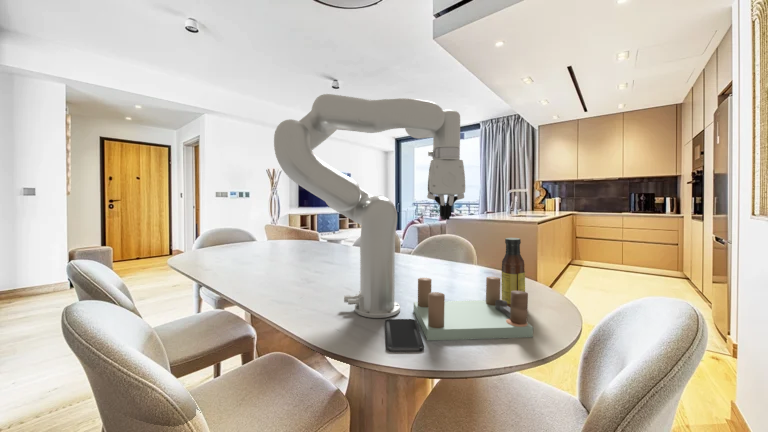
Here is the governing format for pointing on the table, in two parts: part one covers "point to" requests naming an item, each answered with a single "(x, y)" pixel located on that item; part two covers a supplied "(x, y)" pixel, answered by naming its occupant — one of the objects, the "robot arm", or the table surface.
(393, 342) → the phone
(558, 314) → the table surface
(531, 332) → the stool seat
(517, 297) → the folding leg
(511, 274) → the sauce bottle
